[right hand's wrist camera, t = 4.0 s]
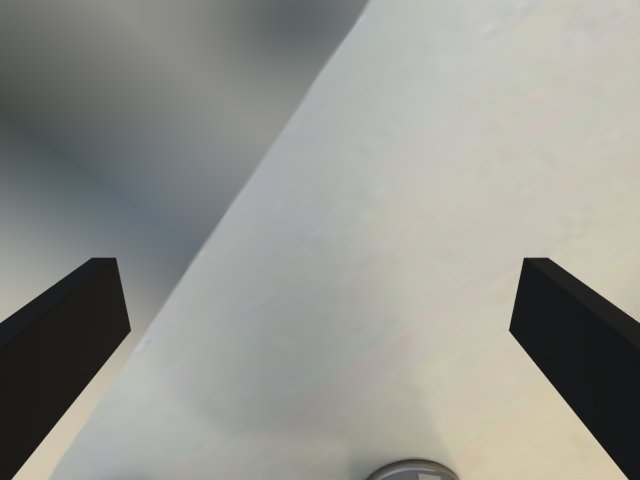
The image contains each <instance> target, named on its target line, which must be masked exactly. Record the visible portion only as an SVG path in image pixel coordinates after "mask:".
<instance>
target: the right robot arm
mask: <svg viewBox="0 0 640 480" xmlns="http://www.w3.org/2000/svg"><path fill="white" fill-rule="evenodd" d="M130 331H131V328H130V323H129V318H128V313H127V309H126V304H125V299H124V294H123V289H122V284H121V280H120V275H119V270H118V265H117V260H116V258H91V259H90V260H88V261H87V262H85V263H84V264H83V265H81V266H80V267H78V268H77V269H76V270H74V271H73V272H71V273H70V274H69V275H67V276H66V277H64V278H63V279H62V280H60V281H59V282H57V283H56V284H55V285H53V286H52V287H50V288H49V289H48V290H46V291H45V292H43V293H42V294H41V295H39V296H38V297H36V298H35V299H34V300H32V301H31V302H29V303H28V304H27V305H25V306H24V307H22V308H21V309H19V310H18V311H17V312H15V313H14V314H12V315H11V316H10V317H8V318H7V319H5V320H4V321H3V322H1V323H0V480H11V479H12V478H13V477H14V476H15V474H16V473H17V472H18V471H19V470H20V468H21V467H22V466H23V465H24V463H25V462H26V461H27V460H28V458H29V457H30V456H31V455H32V453H33V452H34V451H35V450H36V448H37V447H38V446H39V445H40V443H41V442H42V441H43V440H44V438H45V437H46V436H47V435H48V433H49V432H50V431H51V430H52V428H53V427H54V426H55V425H56V423H57V422H58V421H59V420H60V418H61V417H62V416H63V415H64V414H65V412H66V411H67V410H68V408H69V407H70V406H71V405H72V404H73V402H74V401H75V400H76V398H77V397H78V396H79V395H80V394H81V392H82V391H83V390H84V389H85V387H86V386H87V385H88V384H89V382H90V381H91V380H92V379H93V377H94V376H95V375H96V374H97V372H98V371H99V370H100V369H101V367H102V366H103V365H104V364H105V362H106V361H107V360H108V359H109V357H110V356H111V355H112V354H113V352H114V351H115V350H116V349H117V347H118V346H119V345H120V344H121V342H122V341H123V340H124V339H125V337H126V336H127V335H128V334H129V333H130ZM509 331H510V333H511V334H512V335H513V336H514V338H515V339H516V340H517V341H518V343H519V344H520V345H521V346H522V348H523V349H524V350H525V351H526V352H527V354H528V355H529V356H530V357H531V359H532V360H533V361H534V362H535V364H536V365H537V366H538V367H539V369H540V370H541V371H542V372H543V374H544V375H545V376H546V377H547V379H548V380H549V381H550V382H551V384H552V385H553V386H554V387H555V389H556V390H557V391H558V392H559V394H560V395H561V396H562V397H563V399H564V400H565V401H566V402H567V404H568V405H569V406H570V407H571V409H572V410H573V411H574V412H575V414H576V415H577V416H578V417H579V418H580V420H581V421H582V422H583V423H584V425H585V426H586V427H587V428H588V430H589V431H590V432H591V433H592V435H593V436H594V437H595V438H596V440H597V441H598V442H599V443H600V445H601V446H602V447H603V448H604V450H605V451H606V452H607V453H608V455H609V456H610V457H611V458H612V460H613V461H614V462H615V463H616V465H617V466H618V467H619V468H620V470H621V471H622V472H623V473H624V475H625V476H626V477H627V478H628V479H629V480H640V323H639V322H637V321H636V320H635V319H633V318H632V317H630V316H629V315H628V314H626V313H625V312H623V311H622V310H621V309H619V308H618V307H616V306H615V305H613V304H612V303H611V302H609V301H608V300H606V299H605V298H604V297H602V296H601V295H599V294H598V293H597V292H595V291H594V290H592V289H591V288H590V287H588V286H587V285H585V284H584V283H583V282H581V281H580V280H578V279H577V278H576V277H574V276H573V275H571V274H570V273H569V272H567V271H566V270H564V269H563V268H562V267H560V266H559V265H557V264H556V263H555V262H553V261H552V260H550V259H549V258H524V260H523V265H522V270H521V275H520V280H519V284H518V289H517V294H516V299H515V304H514V309H513V313H512V318H511V323H510V328H509ZM367 480H459V479H458V478H457V476H456V475H455V474H454V473H453V472H452V471H450V470H449V469H447V468H446V467H444V466H441V465H439V464H436V463H433V462H428V461H421V460H410V461H402V462H397V463H394V464H391V465H388V466H386V467H383V468H381V469H380V470H378V471H376V472H375V473H374V474H372V475H371V476H370V477H369V478H368V479H367Z"/></svg>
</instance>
